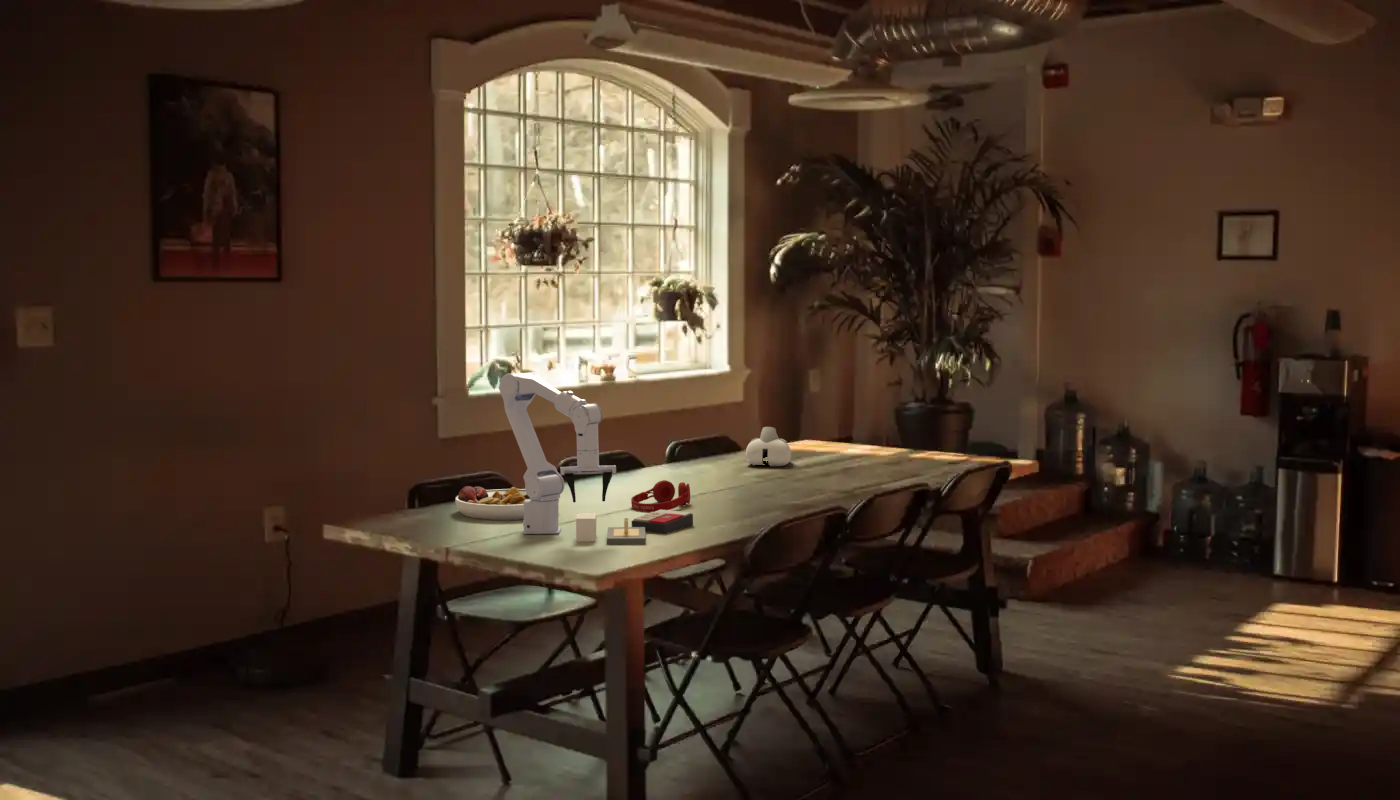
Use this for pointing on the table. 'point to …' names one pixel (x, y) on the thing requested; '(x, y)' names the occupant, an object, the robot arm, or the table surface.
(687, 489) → the headphones
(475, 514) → the bowl
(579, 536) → the block
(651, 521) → the calculator
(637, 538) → the board
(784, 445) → the off-white rounded lobed piece
